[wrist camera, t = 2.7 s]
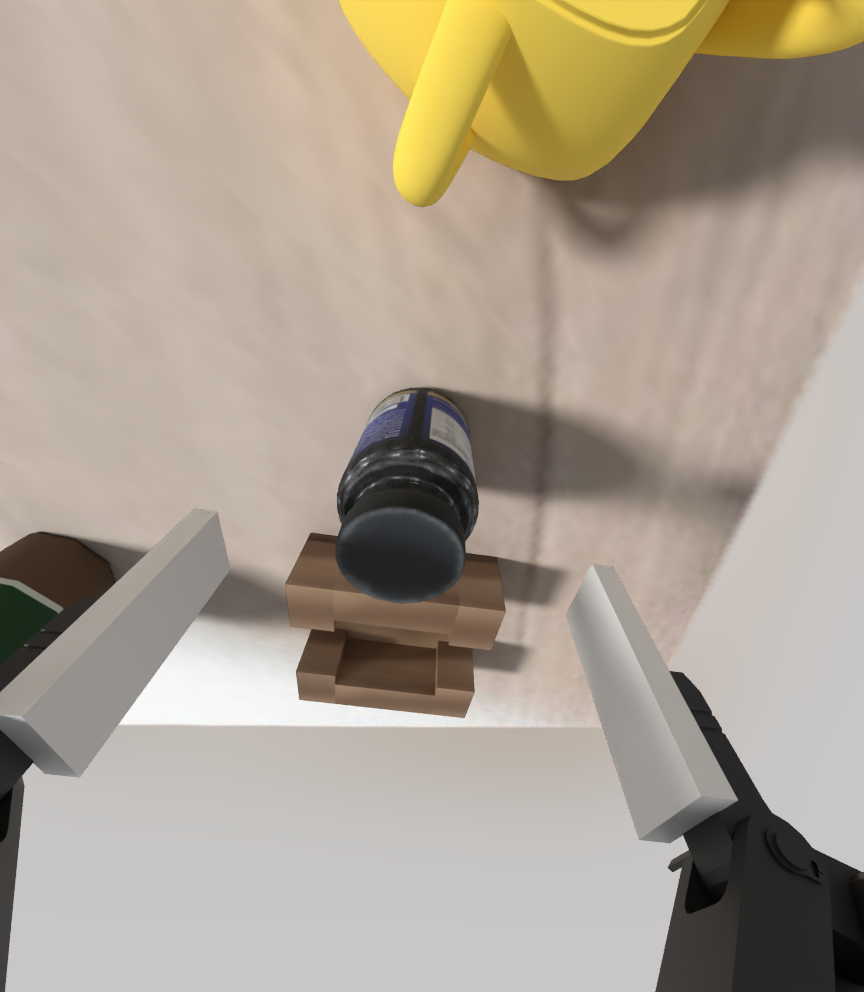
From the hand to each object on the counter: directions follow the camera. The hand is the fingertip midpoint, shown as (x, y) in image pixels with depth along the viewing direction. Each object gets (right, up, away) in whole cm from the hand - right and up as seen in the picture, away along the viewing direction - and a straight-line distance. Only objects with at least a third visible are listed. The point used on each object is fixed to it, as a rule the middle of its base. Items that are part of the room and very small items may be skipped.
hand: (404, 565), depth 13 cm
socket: (-2, -7, +18) cm, 19 cm away
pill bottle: (0, +6, +9) cm, 11 cm away
